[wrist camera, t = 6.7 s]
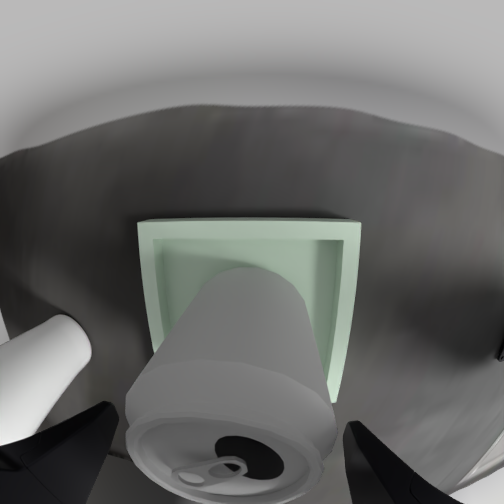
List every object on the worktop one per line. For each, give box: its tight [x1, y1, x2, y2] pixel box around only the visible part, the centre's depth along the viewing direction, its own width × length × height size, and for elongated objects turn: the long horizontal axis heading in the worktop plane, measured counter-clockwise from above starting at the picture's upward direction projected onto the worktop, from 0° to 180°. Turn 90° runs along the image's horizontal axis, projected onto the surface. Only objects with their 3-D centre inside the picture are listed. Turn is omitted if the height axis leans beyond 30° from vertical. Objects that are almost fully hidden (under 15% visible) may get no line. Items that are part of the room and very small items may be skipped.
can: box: [125, 267, 338, 504], centre depth 12 cm, size 8×8×12 cm
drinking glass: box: [0, 314, 92, 446], centre depth 13 cm, size 7×7×15 cm
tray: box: [137, 217, 361, 403], centre depth 17 cm, size 13×13×2 cm
